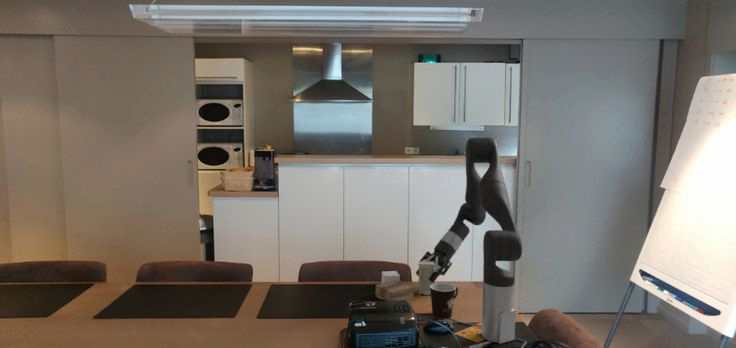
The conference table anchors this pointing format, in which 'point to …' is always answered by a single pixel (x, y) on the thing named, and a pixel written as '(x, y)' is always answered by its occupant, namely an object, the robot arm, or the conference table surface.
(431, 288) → the coffee mug
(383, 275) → the white cube
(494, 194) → the robot arm
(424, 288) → the skincare box
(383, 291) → the walnut block
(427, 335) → the conference table surface
